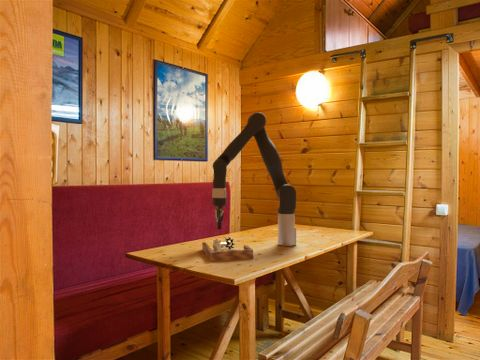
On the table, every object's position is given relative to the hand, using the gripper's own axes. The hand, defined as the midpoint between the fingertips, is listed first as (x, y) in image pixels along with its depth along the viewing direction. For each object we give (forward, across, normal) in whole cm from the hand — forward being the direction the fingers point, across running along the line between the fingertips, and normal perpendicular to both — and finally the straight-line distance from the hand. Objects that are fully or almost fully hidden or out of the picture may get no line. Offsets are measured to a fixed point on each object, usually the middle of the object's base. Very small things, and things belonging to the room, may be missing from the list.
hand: (219, 229), depth 198 cm
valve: (+10, -9, 0) cm, 14 cm away
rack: (+10, -17, 0) cm, 19 cm away
